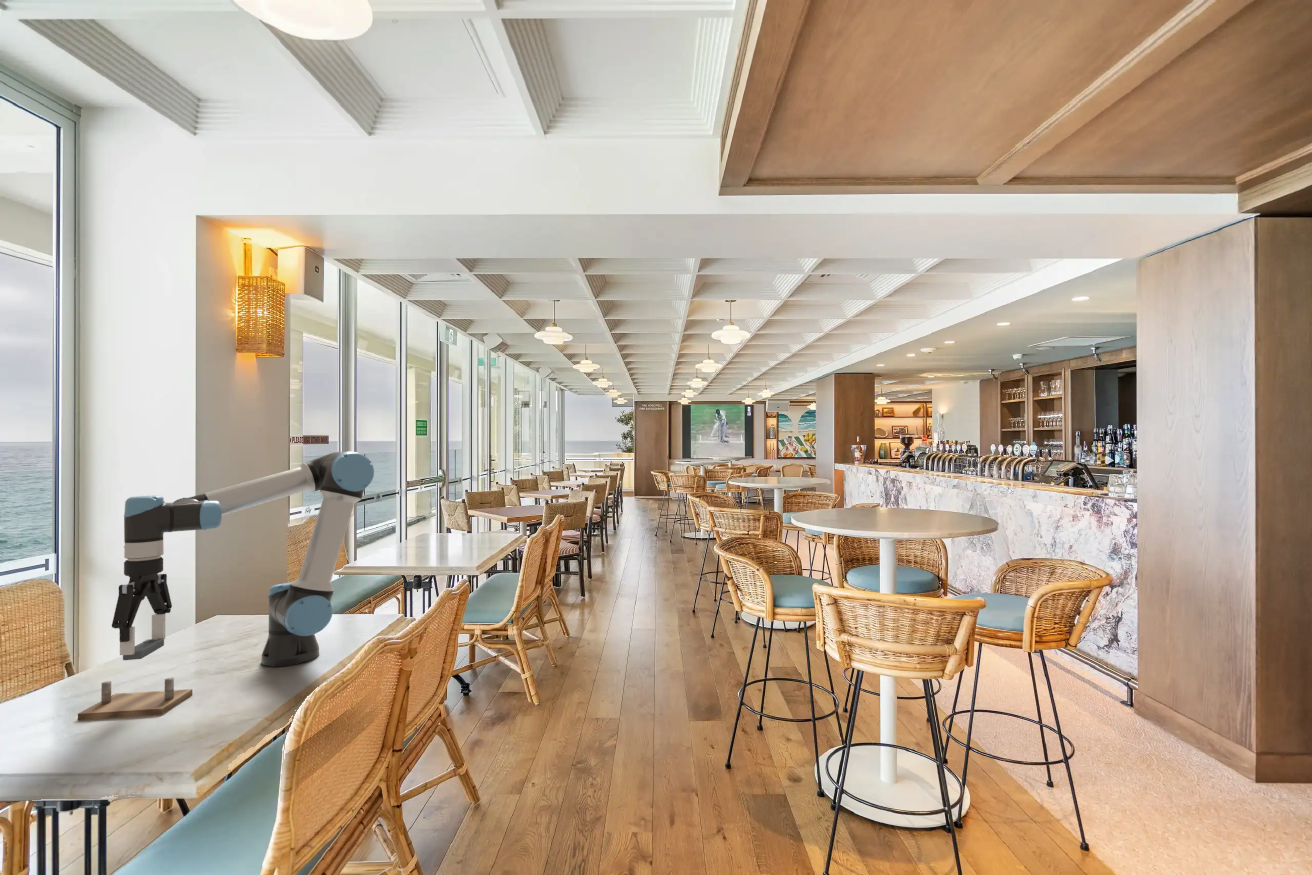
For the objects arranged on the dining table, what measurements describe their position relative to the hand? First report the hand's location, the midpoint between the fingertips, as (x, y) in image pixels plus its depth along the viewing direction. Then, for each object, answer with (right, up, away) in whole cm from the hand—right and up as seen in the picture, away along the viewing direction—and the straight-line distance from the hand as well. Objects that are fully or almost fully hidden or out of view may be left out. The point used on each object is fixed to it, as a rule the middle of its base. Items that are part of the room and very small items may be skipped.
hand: (143, 646), depth 151 cm
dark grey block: (0, -2, 0) cm, 2 cm away
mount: (-1, -15, 0) cm, 15 cm away
